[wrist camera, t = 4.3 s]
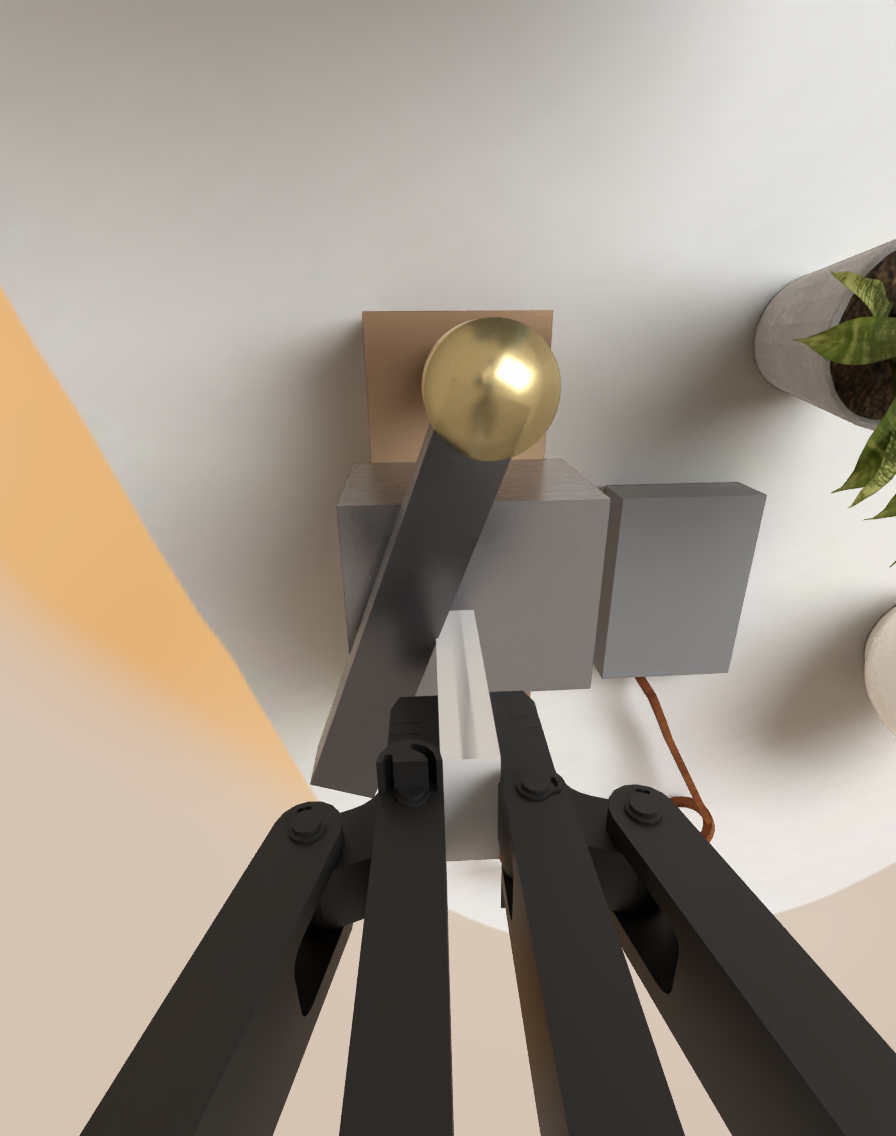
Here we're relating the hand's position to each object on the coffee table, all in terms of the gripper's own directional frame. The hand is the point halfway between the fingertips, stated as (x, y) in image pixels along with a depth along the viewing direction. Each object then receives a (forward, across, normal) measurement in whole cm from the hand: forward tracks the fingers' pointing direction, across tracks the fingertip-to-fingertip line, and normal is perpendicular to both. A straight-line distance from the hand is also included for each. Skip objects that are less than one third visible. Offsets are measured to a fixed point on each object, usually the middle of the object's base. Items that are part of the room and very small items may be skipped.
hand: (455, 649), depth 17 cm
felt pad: (+13, +12, -3) cm, 18 cm away
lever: (0, -1, +3) cm, 3 cm away
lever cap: (+7, 0, +1) cm, 7 cm away
